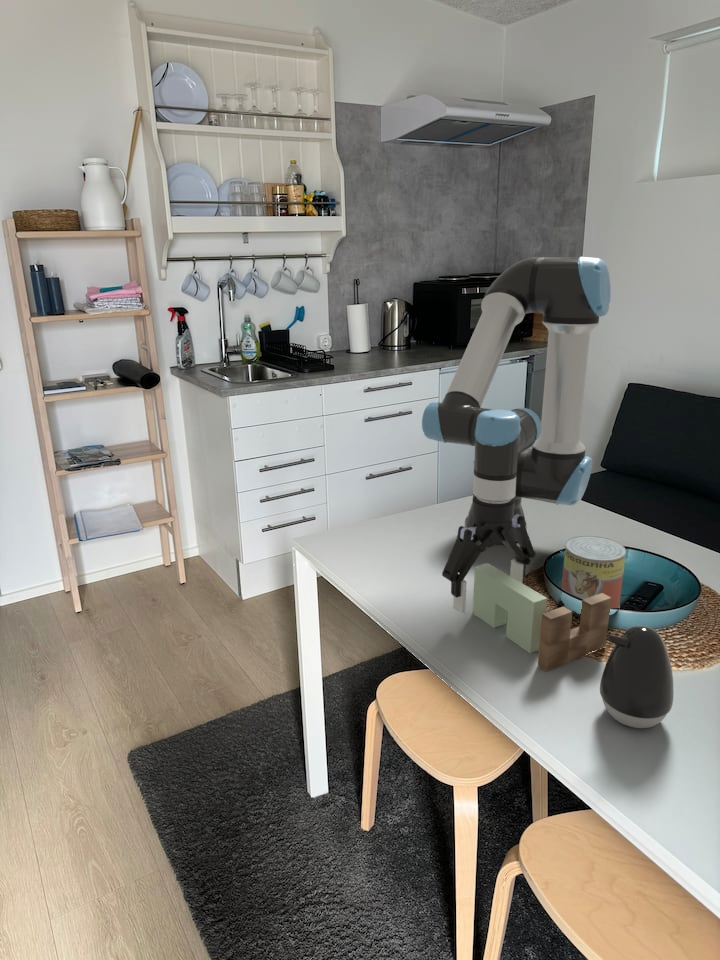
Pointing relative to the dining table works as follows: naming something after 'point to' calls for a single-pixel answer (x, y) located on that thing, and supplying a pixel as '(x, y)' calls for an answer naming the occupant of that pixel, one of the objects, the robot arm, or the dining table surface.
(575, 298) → the robot arm
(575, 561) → the canned food
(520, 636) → the green arch bridge
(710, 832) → the dining table surface
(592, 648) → the brown u-shaped block
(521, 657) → the dining table surface
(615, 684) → the pump dispenser
